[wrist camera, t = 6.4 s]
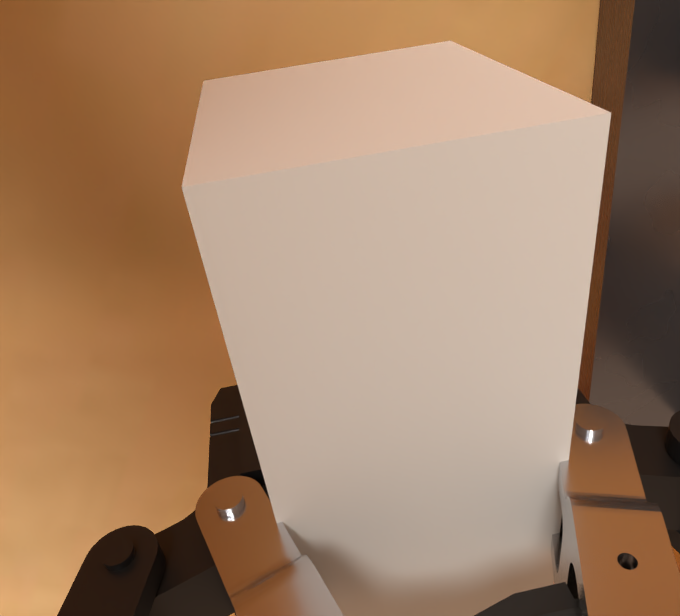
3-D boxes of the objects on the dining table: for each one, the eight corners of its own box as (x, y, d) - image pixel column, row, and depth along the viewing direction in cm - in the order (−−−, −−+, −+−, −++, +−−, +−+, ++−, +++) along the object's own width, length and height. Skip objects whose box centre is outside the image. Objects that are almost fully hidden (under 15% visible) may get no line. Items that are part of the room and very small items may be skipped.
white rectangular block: (310, 531, 19) (338, 742, 14) (203, 80, 12) (181, 186, 7) (460, 499, 19) (539, 694, 14) (450, 40, 12) (611, 112, 7)
